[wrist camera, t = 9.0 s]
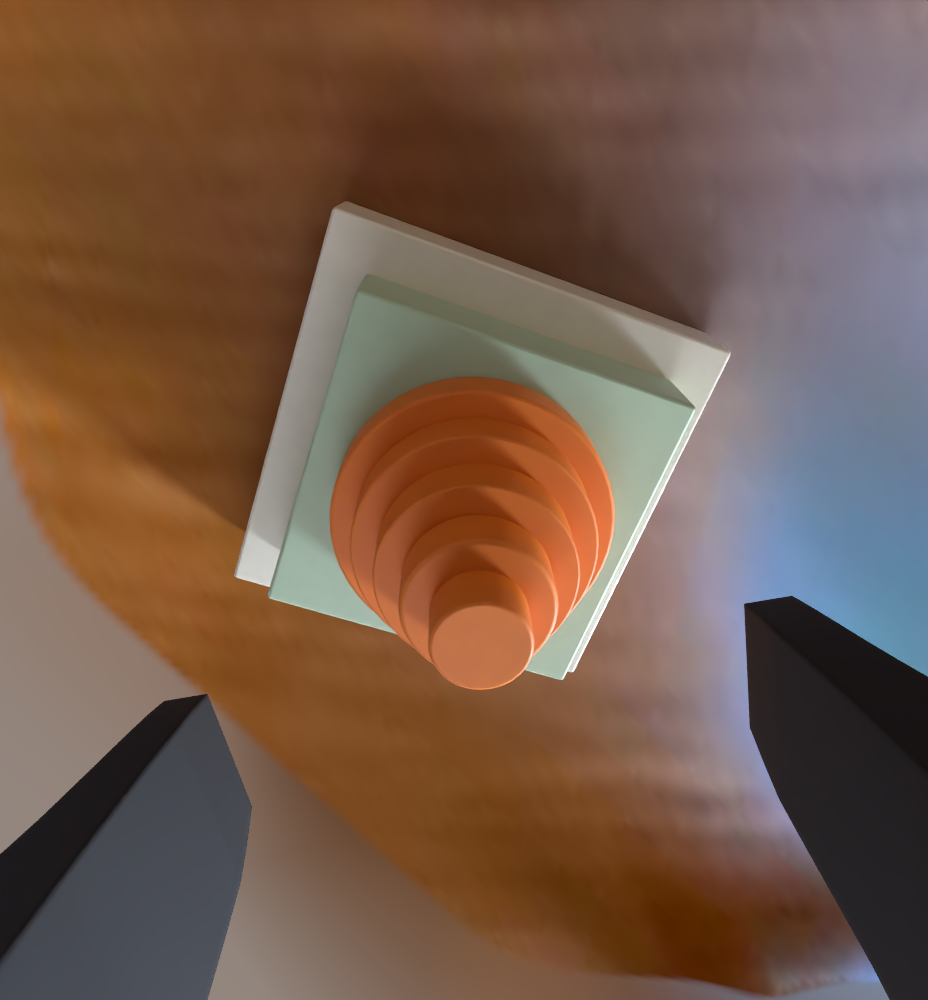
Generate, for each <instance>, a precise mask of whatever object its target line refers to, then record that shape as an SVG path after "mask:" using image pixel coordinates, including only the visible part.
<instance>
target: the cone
mask: <svg viewBox="0 0 928 1000" xmlns="http://www.w3.org/2000/svg"><path fill="white" fill-rule="evenodd" d="M329 519H330V534H331V539H332V544H333V549H334V553H335V555H336V558H337V561H338V564H339V566H340V568H341V570H342V572H343V574H344V576H345V578H346V580H347V581H348V583H349V584H350V586H351V587H352V588H353V590H354V591H355V593H356V594H357V595H358V597H359V598H360V599H361V600H362V601H363V602H364V603H365V604H366V605H367V606H368V607H369V608H370V609H371V610H372V611H374V612H375V613H376V614H377V615H378V616H379V617H380V619H381V620H382V621H383V622H384V623H386V624H387V625H388V626H389V627H391V628H392V629H393V630H394V631H395V632H396V633H397V635H398V636H399V637H400V638H402V639H403V640H404V641H405V642H406V643H408V644H409V645H410V646H412V647H413V648H415V649H416V651H417V652H418V653H419V654H420V655H422V656H423V657H424V658H425V659H426V660H428V661H429V662H431V663H433V665H434V666H435V668H436V669H437V670H438V672H439V673H440V674H441V675H442V676H443V677H445V678H446V679H447V680H449V681H450V682H452V683H454V684H456V685H458V686H461V687H464V688H469V689H476V690H484V689H492V688H496V687H499V686H502V685H505V684H507V683H509V682H511V681H512V680H514V679H515V678H516V677H518V676H519V675H520V674H521V673H522V672H523V671H524V670H525V668H526V667H527V665H528V664H529V662H530V660H531V658H532V656H533V655H535V654H536V653H537V652H538V651H539V650H540V649H541V648H542V646H543V645H544V644H545V642H546V641H547V640H548V638H550V637H551V636H552V635H553V634H554V633H555V632H556V631H557V629H558V628H559V627H560V626H561V625H562V623H563V622H564V621H565V619H566V618H567V616H568V615H569V614H570V613H571V612H572V611H573V610H574V608H575V607H576V606H577V604H578V603H579V602H580V600H581V599H582V597H583V596H584V595H585V594H586V593H587V591H588V590H589V589H590V587H591V586H592V585H593V583H594V582H595V580H596V578H597V577H598V575H599V573H600V571H601V570H602V568H603V566H604V563H605V561H606V558H607V556H608V553H609V550H610V546H611V542H612V538H613V532H614V523H615V510H614V498H613V493H612V488H611V484H610V481H609V478H608V475H607V473H606V470H605V467H604V465H603V463H602V461H601V459H600V457H599V455H598V453H597V451H596V449H595V447H594V446H593V444H592V442H591V440H590V438H589V437H588V435H587V434H586V433H585V431H584V430H583V428H582V427H581V426H580V424H579V423H578V422H577V421H576V420H575V419H574V418H573V417H572V416H571V415H570V414H569V413H568V412H567V411H566V410H564V409H563V408H562V407H561V406H559V405H558V404H557V403H556V402H554V401H553V400H551V399H549V398H548V397H546V396H544V395H543V394H541V393H539V392H537V391H535V390H533V389H530V388H528V387H525V386H523V385H521V384H517V383H513V382H510V381H506V380H502V379H495V378H487V377H459V378H451V379H444V380H440V381H436V382H432V383H428V384H425V385H423V386H420V387H418V388H415V389H413V390H410V391H408V392H406V393H404V394H403V395H401V396H399V397H397V398H395V399H394V400H392V401H391V402H389V403H388V404H387V405H385V406H384V407H383V408H381V409H380V410H379V411H378V412H377V413H376V414H375V415H374V416H373V417H372V418H371V419H369V420H368V421H367V422H366V423H365V425H364V426H363V427H362V429H361V430H360V431H359V432H358V434H357V435H356V436H355V438H354V440H353V441H352V443H351V445H350V447H349V448H348V450H347V452H346V454H345V457H344V459H343V462H342V464H341V467H340V470H339V473H338V476H337V479H336V482H335V486H334V490H333V494H332V499H331V506H330V518H329Z"/></svg>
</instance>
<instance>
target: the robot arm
mask: <svg viewBox="0 0 928 1000" xmlns="http://www.w3.org/2000/svg"><path fill="white" fill-rule="evenodd" d="M744 608H745V630H746V652H747V674H748V696H749V718H750V729H751V731H752V734H753V736H754V739H755V741H756V744H757V747H758V749H759V752H760V754H761V757H762V759H763V762H764V764H765V767H766V769H767V771H768V774H769V776H770V778H771V781H772V783H773V786H774V788H775V790H776V793H777V795H778V797H779V799H780V801H781V803H782V805H783V807H784V809H785V810H786V812H787V814H788V816H789V818H790V820H791V821H792V823H793V825H794V827H795V829H796V830H797V832H798V834H799V836H800V838H801V839H802V841H803V843H804V845H805V847H806V848H807V850H808V852H809V854H810V856H811V857H812V859H813V861H814V863H815V865H816V866H817V868H818V870H819V872H820V873H821V875H822V877H823V879H824V881H825V882H826V884H827V886H828V888H829V889H830V891H831V893H832V895H833V897H834V898H835V900H836V902H837V904H838V905H839V907H840V909H841V911H842V913H843V914H844V916H845V918H846V920H847V921H848V923H849V925H850V927H851V929H852V930H853V932H854V934H855V936H856V937H857V939H858V941H859V943H860V945H861V946H862V948H863V950H864V952H865V954H866V955H867V957H868V959H869V961H870V962H871V964H872V966H873V968H874V970H875V972H876V974H877V976H878V978H879V980H880V982H881V984H882V986H883V987H884V989H885V991H886V993H887V995H888V997H889V999H890V1000H928V677H927V676H925V675H924V674H922V673H920V672H918V671H917V670H915V669H913V668H912V667H910V666H908V665H906V664H905V663H903V662H901V661H899V660H898V659H896V658H894V657H893V656H891V655H889V654H888V653H886V652H884V651H883V650H881V649H879V648H878V647H876V646H874V645H873V644H871V643H869V642H868V641H866V640H864V639H863V638H861V637H859V636H858V635H856V634H855V633H853V632H851V631H850V630H848V629H846V628H845V627H843V626H841V625H840V624H838V623H837V622H835V621H833V620H832V619H830V618H828V617H827V616H825V615H824V614H822V613H820V612H819V611H817V610H815V609H814V608H812V607H810V606H809V605H807V604H805V603H804V602H802V601H800V600H798V599H797V598H795V597H793V596H788V597H782V598H776V599H770V600H764V601H758V602H752V603H746V604H744ZM251 810H252V805H251V803H250V800H249V798H248V795H247V793H246V790H245V788H244V785H243V783H242V780H241V778H240V775H239V773H238V770H237V767H236V765H235V763H234V760H233V757H232V755H231V752H230V750H229V747H228V745H227V742H226V740H225V737H224V735H223V732H222V730H221V727H220V725H219V722H218V720H217V717H216V715H215V712H214V710H213V707H212V705H211V702H210V700H209V697H208V695H207V694H204V695H198V696H192V697H186V698H180V699H174V700H168V701H164V702H163V703H161V704H160V705H159V706H158V707H156V708H155V709H154V710H153V711H152V712H151V713H149V714H148V715H147V716H146V717H145V718H144V719H143V720H142V721H141V722H140V723H139V724H137V725H136V727H134V728H133V729H132V730H131V731H130V732H129V733H128V734H127V735H126V736H125V737H124V738H123V739H122V740H121V741H120V742H119V743H118V744H117V745H116V746H115V747H113V748H112V750H110V751H109V752H108V753H107V754H106V755H105V756H104V757H103V758H102V759H101V760H100V761H99V762H98V763H97V764H96V765H95V766H94V767H93V768H92V769H91V770H90V771H89V772H88V773H87V774H86V775H85V776H84V777H83V778H82V779H80V780H79V782H77V783H76V784H75V785H74V786H73V787H72V788H71V789H70V790H69V791H68V792H67V793H66V794H65V795H64V796H63V797H62V798H61V799H60V800H59V801H58V802H57V803H56V804H55V805H54V806H53V807H52V808H50V809H49V810H48V811H47V812H46V814H44V815H43V816H42V817H41V818H40V819H39V820H38V821H37V822H36V823H34V824H33V825H32V826H31V827H30V828H29V829H28V830H27V831H26V832H25V833H23V834H22V835H21V836H20V837H19V838H18V839H17V840H16V841H14V842H13V843H12V844H11V845H10V846H9V847H8V848H7V849H6V850H4V851H3V852H2V853H1V854H0V1000H207V999H208V996H209V992H210V989H211V985H212V982H213V979H214V975H215V972H216V968H217V965H218V961H219V958H220V954H221V951H222V947H223V944H224V940H225V937H226V933H227V930H228V926H229V922H230V919H231V915H232V912H233V908H234V905H235V901H236V897H237V894H238V890H239V886H240V882H241V877H242V871H243V866H244V859H245V854H246V847H247V840H248V833H249V825H250V817H251Z"/></svg>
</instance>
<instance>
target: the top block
mask: <svg viewBox="0 0 928 1000" xmlns="http://www.w3.org/2000/svg"><path fill="white" fill-rule="evenodd" d="M459 377H487V378H495V379H502V380H506V381H510V382H513V383H517V384H521V385H523V386H525V387H528V388H530V389H533V390H535V391H537V392H539V393H541V394H543V395H544V396H546V397H548V398H549V399H551V400H553V401H554V402H556V403H557V404H558V405H559V406H561V407H562V408H563V409H564V410H566V411H567V412H568V413H569V414H570V415H571V416H572V417H573V418H574V419H575V420H576V421H577V422H578V423H579V424H580V426H581V427H582V428H583V430H584V431H585V433H586V434H587V435H588V437H589V438H590V440H591V442H592V444H593V446H594V447H595V449H596V451H597V453H598V455H599V457H600V459H601V461H602V463H603V465H604V467H605V470H606V473H607V475H608V478H609V481H610V484H611V488H612V493H613V498H614V510H615V523H614V532H613V538H612V542H611V546H610V550H609V553H608V556H607V558H606V561H605V563H604V566H603V568H602V570H601V571H600V573H599V575H598V577H597V578H596V580H595V582H594V583H593V585H592V586H591V587H590V589H589V590H588V591H587V593H586V594H585V595H584V596H583V597H582V599H581V600H580V602H579V603H578V604H577V606H576V607H575V608H574V610H573V611H572V612H571V613H570V614H569V615H568V616H567V618H566V619H565V621H564V622H563V623H562V625H561V626H560V627H559V628H558V629H557V631H556V632H555V633H554V634H553V635H552V636H551V637H550V638H548V640H547V641H546V642H545V644H544V645H543V646H542V648H541V649H540V650H539V651H538V652H537V653H536V654H535V655H533V656H532V658H531V660H530V662H529V664H528V665H527V667H526V668H525V670H527V671H530V672H534V673H538V674H541V675H545V676H548V677H552V678H555V679H559V680H562V679H564V677H565V675H566V673H567V670H568V668H569V666H570V664H571V662H572V660H573V658H574V656H575V654H576V652H577V650H578V648H579V646H580V644H581V642H582V640H583V638H584V636H585V634H586V632H587V630H588V628H589V626H590V624H591V622H592V620H593V618H594V616H595V614H596V612H597V609H598V607H599V605H600V603H601V601H602V599H603V597H604V595H605V593H606V591H607V589H608V587H609V585H610V583H611V581H612V579H613V577H614V575H615V573H616V571H617V569H618V567H619V565H620V563H621V561H622V559H623V557H624V555H625V553H626V551H627V548H628V546H629V544H630V542H631V540H632V538H633V536H634V534H635V532H636V530H637V528H638V526H639V524H640V522H641V520H642V518H643V516H644V514H645V512H646V510H647V508H648V506H649V504H650V502H651V500H652V498H653V496H654V494H655V492H656V490H657V487H658V485H659V483H660V481H661V479H662V477H663V475H664V473H665V471H666V469H667V467H668V465H669V463H670V461H671V459H672V457H673V455H674V453H675V451H676V449H677V447H678V445H679V443H680V441H681V439H682V437H683V435H684V433H685V431H686V429H687V426H688V424H689V422H690V420H691V418H692V416H693V414H694V412H695V409H696V407H695V406H694V405H693V404H692V403H691V402H690V401H689V400H688V399H687V398H686V397H685V396H684V395H683V393H682V392H681V391H680V390H679V389H678V388H677V387H676V386H675V385H674V384H673V383H672V382H671V381H670V380H668V379H666V378H663V377H660V376H657V375H654V374H651V373H649V372H646V371H643V370H640V369H637V368H635V367H632V366H629V365H626V364H623V363H620V362H618V361H615V360H612V359H609V358H606V357H603V356H601V355H598V354H595V353H592V352H589V351H586V350H584V349H581V348H578V347H575V346H572V345H569V344H567V343H564V342H561V341H558V340H555V339H552V338H550V337H547V336H544V335H541V334H538V333H535V332H533V331H530V330H527V329H524V328H521V327H518V326H516V325H513V324H510V323H507V322H504V321H502V320H499V319H496V318H493V317H490V316H487V315H485V314H482V313H479V312H476V311H473V310H470V309H468V308H465V307H462V306H459V305H456V304H453V303H451V302H448V301H445V300H442V299H439V298H436V297H434V296H431V295H428V294H425V293H422V292H419V291H417V290H414V289H411V288H408V287H405V286H402V285H400V284H397V283H394V282H391V281H388V280H386V279H383V278H380V277H377V276H374V275H371V274H367V275H366V276H365V277H364V279H363V281H362V282H361V284H360V286H359V287H358V289H357V291H356V293H355V296H354V300H353V303H352V307H351V310H350V314H349V317H348V320H347V324H346V327H345V331H344V334H343V337H342V341H341V344H340V348H339V351H338V355H337V358H336V361H335V365H334V368H333V372H332V375H331V379H330V382H329V385H328V389H327V392H326V396H325V399H324V403H323V406H322V409H321V413H320V416H319V420H318V423H317V427H316V430H315V433H314V437H313V440H312V444H311V447H310V451H309V454H308V457H307V461H306V464H305V468H304V471H303V475H302V478H301V481H300V485H299V488H298V492H297V495H296V499H295V502H294V505H293V509H292V512H291V516H290V519H289V523H288V526H287V529H286V533H285V536H284V540H283V543H282V547H281V550H280V553H279V557H278V560H277V564H276V567H275V570H274V574H273V577H272V581H271V584H270V588H269V591H268V597H269V598H270V599H274V600H277V601H281V602H285V603H288V604H292V605H295V606H299V607H302V608H306V609H310V610H313V611H317V612H320V613H324V614H327V615H331V616H334V617H338V618H342V619H345V620H349V621H352V622H356V623H359V624H363V625H367V626H370V627H374V628H377V629H381V630H384V631H388V632H391V633H395V634H397V633H396V632H395V631H394V630H393V629H392V628H391V627H389V626H388V625H387V624H386V623H384V622H383V621H382V620H381V619H380V617H379V616H378V615H377V614H376V613H375V612H374V611H372V610H371V609H370V608H369V607H368V606H367V605H366V604H365V603H364V602H363V601H362V600H361V599H360V598H359V597H358V595H357V594H356V593H355V591H354V590H353V588H352V587H351V586H350V584H349V583H348V581H347V580H346V578H345V576H344V574H343V572H342V570H341V568H340V566H339V564H338V561H337V558H336V555H335V553H334V549H333V544H332V539H331V534H330V519H329V518H330V506H331V499H332V494H333V490H334V486H335V482H336V479H337V476H338V473H339V470H340V467H341V464H342V462H343V459H344V457H345V454H346V452H347V450H348V448H349V447H350V445H351V443H352V441H353V440H354V438H355V436H356V435H357V434H358V432H359V431H360V430H361V429H362V427H363V426H364V425H365V423H366V422H367V421H368V420H369V419H371V418H372V417H373V416H374V415H375V414H376V413H377V412H378V411H379V410H380V409H381V408H383V407H384V406H385V405H387V404H388V403H389V402H391V401H392V400H394V399H395V398H397V397H399V396H401V395H403V394H404V393H406V392H408V391H410V390H413V389H415V388H418V387H420V386H423V385H425V384H428V383H432V382H436V381H440V380H444V379H451V378H459Z"/></svg>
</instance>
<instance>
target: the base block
mask: <svg viewBox="0 0 928 1000" xmlns="http://www.w3.org/2000/svg"><path fill="white" fill-rule="evenodd" d="M367 274H371V275H374V276H377V277H380V278H383V279H386V280H388V281H391V282H394V283H397V284H400V285H402V286H405V287H408V288H411V289H414V290H417V291H419V292H422V293H425V294H428V295H431V296H434V297H436V298H439V299H442V300H445V301H448V302H451V303H453V304H456V305H459V306H462V307H465V308H468V309H470V310H473V311H476V312H479V313H482V314H485V315H487V316H490V317H493V318H496V319H499V320H502V321H504V322H507V323H510V324H513V325H516V326H518V327H521V328H524V329H527V330H530V331H533V332H535V333H538V334H541V335H544V336H547V337H550V338H552V339H555V340H558V341H561V342H564V343H567V344H569V345H572V346H575V347H578V348H581V349H584V350H586V351H589V352H592V353H595V354H598V355H601V356H603V357H606V358H609V359H612V360H615V361H618V362H620V363H623V364H626V365H629V366H632V367H635V368H637V369H640V370H643V371H646V372H649V373H651V374H654V375H657V376H660V377H663V378H666V379H668V380H670V381H671V382H672V383H673V384H674V385H675V386H676V387H677V388H678V389H679V390H680V391H681V392H682V393H683V395H684V396H685V397H686V398H687V399H688V400H689V401H690V402H691V403H692V404H693V405H694V406H695V407H696V409H695V412H694V414H693V416H692V418H691V420H690V422H689V424H688V426H687V429H686V431H685V433H684V435H683V437H682V439H681V441H680V443H679V445H678V447H677V449H676V451H675V453H674V455H673V457H672V459H671V461H670V463H669V465H668V467H667V469H666V471H665V473H664V475H663V477H662V479H661V481H660V483H659V485H658V487H657V490H656V492H655V494H654V496H653V498H652V500H651V502H650V504H649V506H648V508H647V510H646V512H645V514H644V516H643V518H642V520H641V522H640V524H639V526H638V528H637V530H636V532H635V534H634V536H633V538H632V540H631V542H630V544H629V546H628V548H627V551H626V553H625V555H624V557H623V559H622V561H621V563H620V565H619V567H618V569H617V571H616V573H615V575H614V577H613V579H612V581H611V583H610V585H609V587H608V589H607V591H606V593H605V595H604V597H603V599H602V601H601V603H600V605H599V607H598V609H597V612H596V614H595V616H594V618H593V620H592V622H591V624H590V626H589V628H588V630H587V632H586V634H585V636H584V638H583V640H582V642H581V644H580V646H579V648H578V650H577V652H576V654H575V656H574V658H573V660H572V662H571V664H570V666H569V668H568V670H567V671H569V672H573V671H574V669H575V667H576V665H577V663H578V661H579V659H580V657H581V655H582V653H583V651H584V649H585V647H586V645H587V643H588V641H589V639H590V637H591V635H592V633H593V631H594V629H595V627H596V625H597V623H598V621H599V619H600V617H601V615H602V613H603V611H604V609H605V607H606V605H607V603H608V601H609V599H610V597H611V595H612V593H613V591H614V589H615V587H616V585H617V583H618V581H619V579H620V577H621V575H622V573H623V571H624V569H625V567H626V565H627V563H628V561H629V558H630V556H631V554H632V552H633V550H634V548H635V546H636V544H637V542H638V540H639V538H640V536H641V534H642V532H643V530H644V528H645V526H646V524H647V522H648V520H649V518H650V516H651V514H652V512H653V510H654V508H655V506H656V504H657V502H658V500H659V498H660V496H661V494H662V492H663V490H664V488H665V486H666V484H667V482H668V480H669V478H670V476H671V474H672V472H673V470H674V468H675V466H676V464H677V462H678V460H679V458H680V456H681V454H682V452H683V450H684V448H685V446H686V444H687V442H688V440H689V438H690V435H691V433H692V431H693V429H694V427H695V425H696V423H697V421H698V419H699V417H700V415H701V413H702V411H703V409H704V407H705V405H706V403H707V401H708V399H709V397H710V395H711V393H712V391H713V389H714V387H715V385H716V383H717V381H718V379H719V377H720V375H721V373H722V371H723V369H724V367H725V365H726V363H727V361H728V359H729V357H730V354H731V352H730V351H729V350H728V349H726V348H725V347H723V346H722V345H721V344H719V343H718V342H717V341H715V340H714V339H713V338H711V337H710V336H708V335H707V334H706V333H704V332H702V331H700V330H697V329H694V328H691V327H689V326H686V325H683V324H681V323H678V322H675V321H672V320H670V319H667V318H664V317H662V316H659V315H656V314H653V313H651V312H648V311H645V310H642V309H640V308H637V307H634V306H632V305H629V304H626V303H623V302H621V301H618V300H615V299H612V298H610V297H607V296H604V295H602V294H599V293H596V292H593V291H591V290H588V289H585V288H582V287H580V286H577V285H574V284H572V283H569V282H566V281H563V280H561V279H558V278H555V277H552V276H550V275H547V274H544V273H542V272H539V271H536V270H533V269H531V268H528V267H525V266H522V265H520V264H517V263H514V262H512V261H509V260H506V259H503V258H501V257H498V256H495V255H492V254H490V253H487V252H484V251H482V250H479V249H476V248H473V247H471V246H468V245H465V244H462V243H460V242H457V241H454V240H452V239H449V238H446V237H443V236H441V235H438V234H435V233H432V232H430V231H427V230H424V229H422V228H419V227H416V226H413V225H411V224H408V223H405V222H402V221H400V220H397V219H394V218H392V217H389V216H386V215H383V214H381V213H378V212H375V211H372V210H370V209H367V208H364V207H362V206H359V205H356V204H353V203H351V202H348V201H344V202H343V203H341V204H339V205H338V206H336V207H334V208H333V210H332V212H331V216H330V219H329V223H328V227H327V230H326V234H325V238H324V242H323V245H322V249H321V253H320V256H319V260H318V264H317V268H316V271H315V275H314V279H313V282H312V286H311V290H310V294H309V297H308V301H307V305H306V309H305V312H304V316H303V320H302V323H301V327H300V331H299V335H298V338H297V342H296V346H295V349H294V353H293V357H292V361H291V364H290V368H289V372H288V375H287V379H286V383H285V387H284V390H283V394H282V398H281V402H280V405H279V409H278V413H277V416H276V420H275V424H274V428H273V431H272V435H271V439H270V442H269V446H268V450H267V454H266V457H265V461H264V465H263V468H262V472H261V476H260V480H259V483H258V487H257V491H256V495H255V498H254V502H253V506H252V509H251V513H250V517H249V521H248V524H247V528H246V532H245V535H244V539H243V543H242V547H241V550H240V554H239V558H238V561H237V565H236V569H235V573H234V574H235V577H237V578H240V579H244V580H247V581H251V582H254V583H258V584H261V585H265V586H268V587H270V584H271V581H272V577H273V574H274V570H275V567H276V564H277V560H278V557H279V553H280V550H281V547H282V543H283V540H284V536H285V533H286V529H287V526H288V523H289V519H290V516H291V512H292V509H293V505H294V502H295V499H296V495H297V492H298V488H299V485H300V481H301V478H302V475H303V471H304V468H305V464H306V461H307V457H308V454H309V451H310V447H311V444H312V440H313V437H314V433H315V430H316V427H317V423H318V420H319V416H320V413H321V409H322V406H323V403H324V399H325V396H326V392H327V389H328V385H329V382H330V379H331V375H332V372H333V368H334V365H335V361H336V358H337V355H338V351H339V348H340V344H341V341H342V337H343V334H344V331H345V327H346V324H347V320H348V317H349V314H350V310H351V307H352V303H353V300H354V296H355V293H356V291H357V289H358V287H359V286H360V284H361V282H362V281H363V279H364V277H365V276H366V275H367Z"/></svg>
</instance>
